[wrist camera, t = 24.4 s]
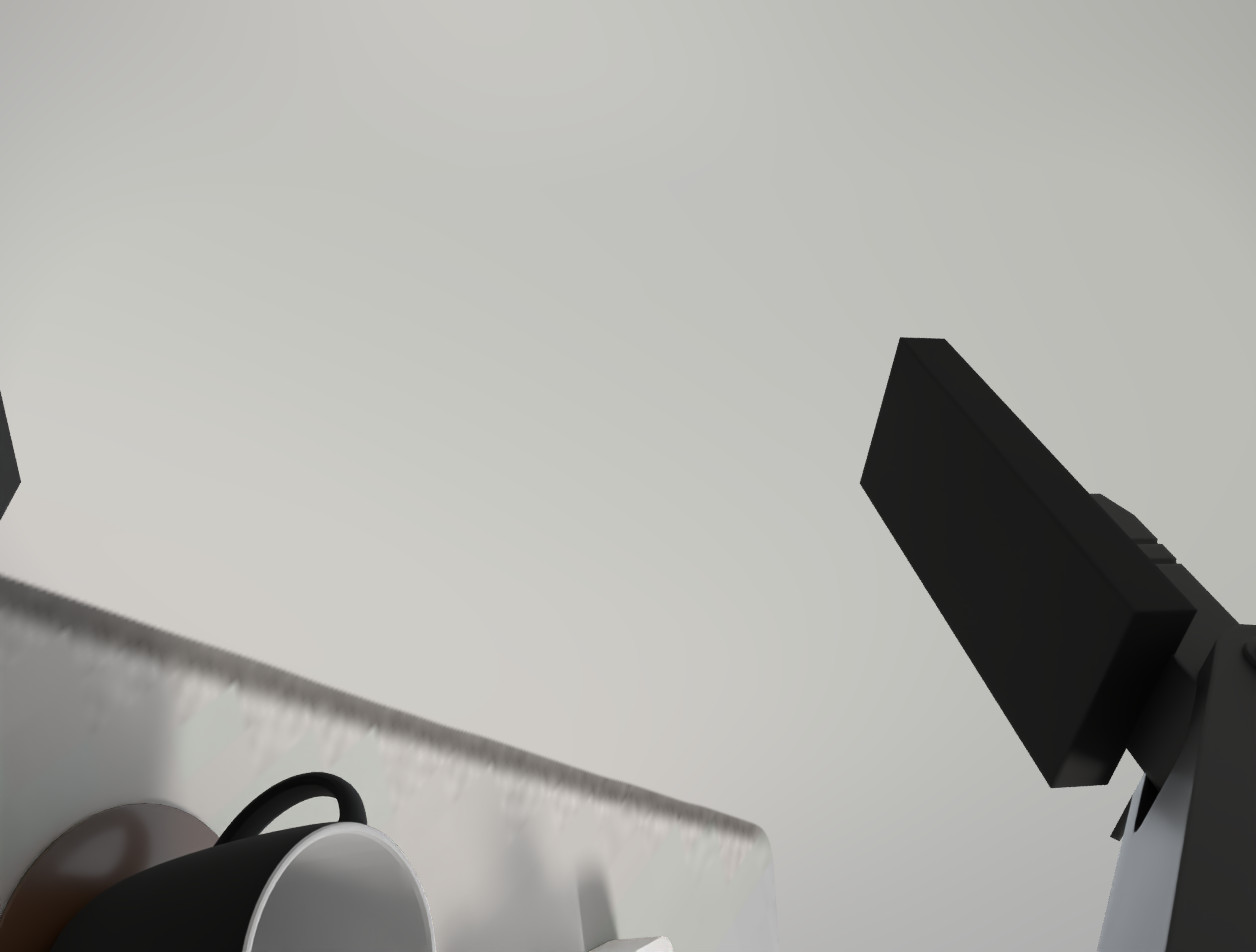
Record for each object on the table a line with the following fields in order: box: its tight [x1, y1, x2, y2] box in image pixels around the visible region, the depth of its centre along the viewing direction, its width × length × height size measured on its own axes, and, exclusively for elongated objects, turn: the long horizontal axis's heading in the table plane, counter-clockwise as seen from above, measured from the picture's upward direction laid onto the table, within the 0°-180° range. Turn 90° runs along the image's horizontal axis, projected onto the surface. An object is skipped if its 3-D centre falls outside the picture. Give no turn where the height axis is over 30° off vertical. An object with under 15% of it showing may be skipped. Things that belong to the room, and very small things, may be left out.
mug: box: [50, 772, 436, 952], centre depth 36 cm, size 12×9×10 cm
